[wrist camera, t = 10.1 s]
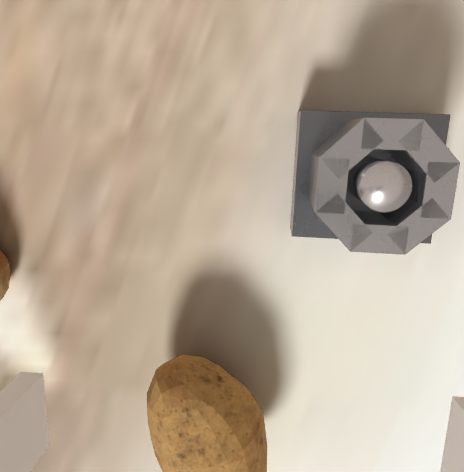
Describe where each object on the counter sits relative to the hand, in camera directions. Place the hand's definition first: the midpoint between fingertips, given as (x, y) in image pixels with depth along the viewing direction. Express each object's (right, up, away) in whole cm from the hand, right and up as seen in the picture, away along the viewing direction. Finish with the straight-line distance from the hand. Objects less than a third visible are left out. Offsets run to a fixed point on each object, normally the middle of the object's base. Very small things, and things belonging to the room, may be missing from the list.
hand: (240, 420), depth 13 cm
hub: (+9, +10, +16) cm, 21 cm away
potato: (-2, -9, +25) cm, 27 cm away
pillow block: (+10, +11, +19) cm, 24 cm away
